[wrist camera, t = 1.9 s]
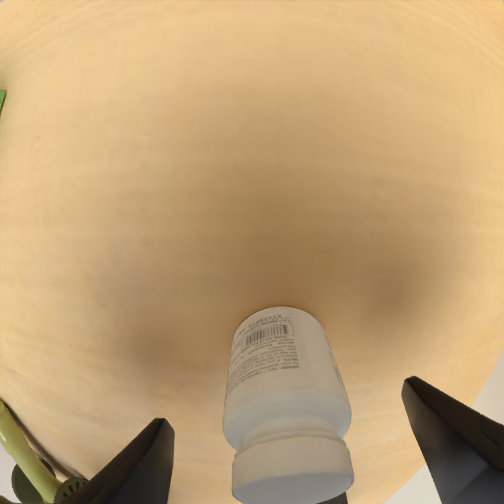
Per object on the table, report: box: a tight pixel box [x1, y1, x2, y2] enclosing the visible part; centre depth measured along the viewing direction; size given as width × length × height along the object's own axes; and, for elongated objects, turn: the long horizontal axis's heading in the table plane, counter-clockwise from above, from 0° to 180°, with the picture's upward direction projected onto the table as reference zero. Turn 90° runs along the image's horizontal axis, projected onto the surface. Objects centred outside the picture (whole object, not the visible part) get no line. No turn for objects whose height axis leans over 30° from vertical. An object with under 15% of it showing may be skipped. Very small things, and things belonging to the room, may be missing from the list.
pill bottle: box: [223, 306, 354, 504], centre depth 9 cm, size 4×4×8 cm
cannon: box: [0, 401, 88, 504], centre depth 16 cm, size 25×12×11 cm, turn 5°
